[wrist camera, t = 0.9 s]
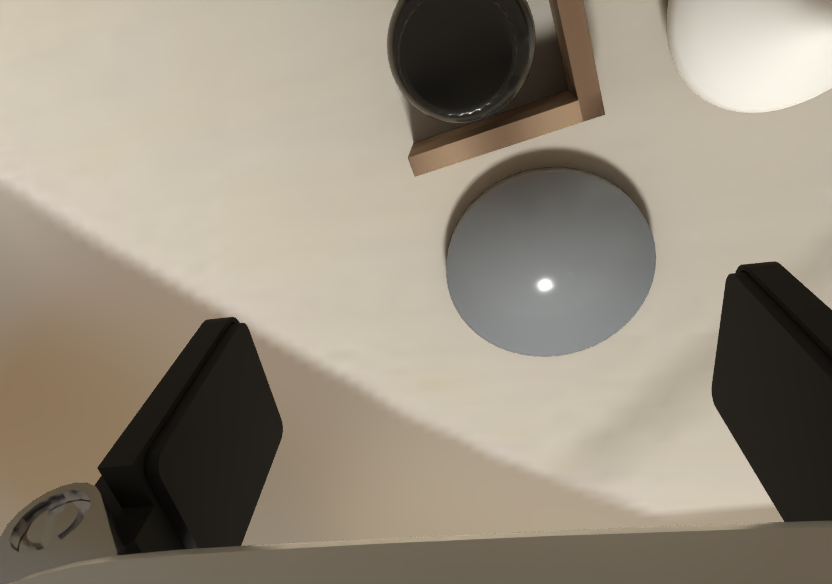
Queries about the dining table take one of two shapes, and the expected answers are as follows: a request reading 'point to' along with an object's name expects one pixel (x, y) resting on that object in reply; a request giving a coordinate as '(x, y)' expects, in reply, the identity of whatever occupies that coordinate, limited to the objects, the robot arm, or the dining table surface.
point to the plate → (550, 262)
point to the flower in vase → (752, 51)
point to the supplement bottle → (460, 55)
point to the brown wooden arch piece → (532, 117)
